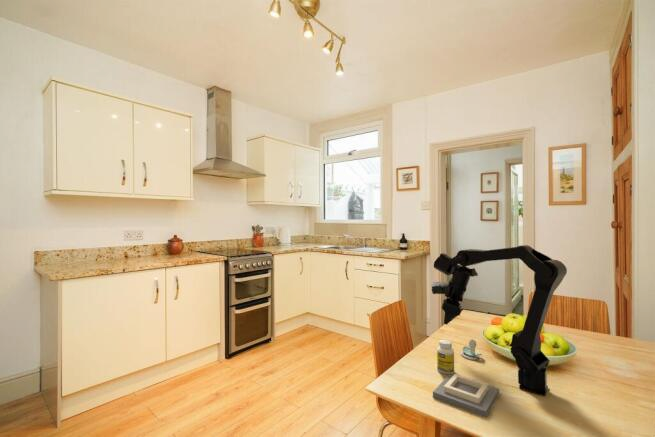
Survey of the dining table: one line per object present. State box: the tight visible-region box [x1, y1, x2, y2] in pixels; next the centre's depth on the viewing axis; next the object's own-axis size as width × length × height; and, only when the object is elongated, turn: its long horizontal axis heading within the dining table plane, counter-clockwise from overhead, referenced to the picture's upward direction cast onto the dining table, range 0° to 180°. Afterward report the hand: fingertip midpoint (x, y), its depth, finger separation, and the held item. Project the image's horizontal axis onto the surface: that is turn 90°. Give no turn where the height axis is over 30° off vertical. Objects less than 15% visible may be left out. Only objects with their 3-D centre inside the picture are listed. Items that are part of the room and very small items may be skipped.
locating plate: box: [432, 373, 500, 418], centre depth 88 cm, size 14×14×3 cm
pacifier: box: [460, 338, 483, 361], centre depth 114 cm, size 7×6×6 cm
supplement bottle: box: [436, 339, 455, 375], centre depth 103 cm, size 5×5×10 cm
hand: (446, 318), depth 116 cm, fingers open, 9 cm apart
